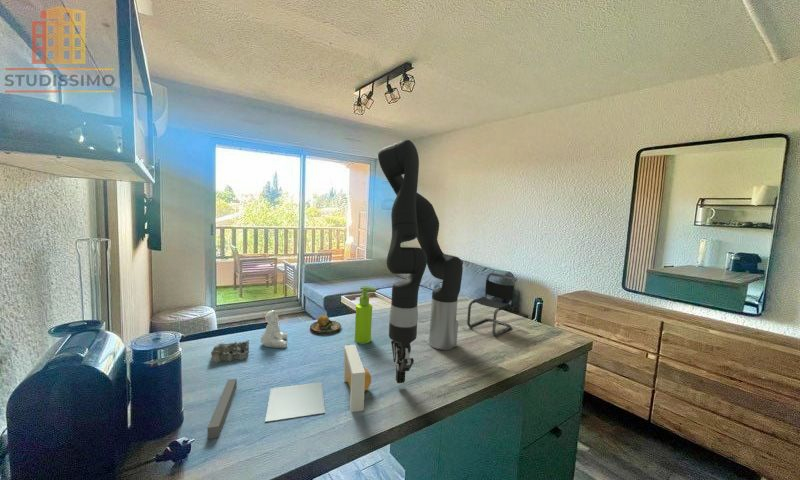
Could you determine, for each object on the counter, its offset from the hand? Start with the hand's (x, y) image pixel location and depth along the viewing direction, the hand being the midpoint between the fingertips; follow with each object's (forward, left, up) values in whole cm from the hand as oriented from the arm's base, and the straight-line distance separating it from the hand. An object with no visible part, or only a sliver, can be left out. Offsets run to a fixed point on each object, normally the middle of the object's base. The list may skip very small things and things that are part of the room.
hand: (400, 381), depth 84 cm
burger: (+17, -44, -2) cm, 47 cm away
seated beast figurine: (+35, -34, -2) cm, 49 cm away
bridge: (+13, 0, -2) cm, 13 cm away
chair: (-51, -33, -2) cm, 61 cm away
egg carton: (+47, -28, -2) cm, 55 cm away
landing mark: (+27, 0, -2) cm, 27 cm away
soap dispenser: (+4, -31, -2) cm, 31 cm away
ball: (+11, -1, +2) cm, 11 cm away
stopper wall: (+43, 0, -2) cm, 43 cm away
